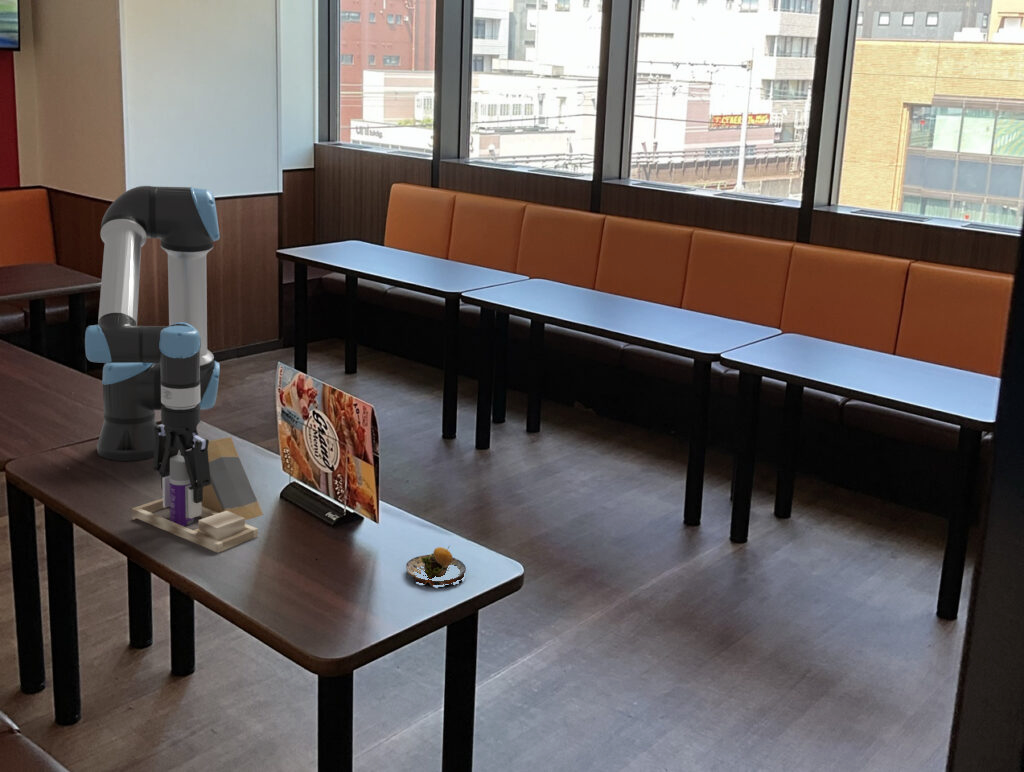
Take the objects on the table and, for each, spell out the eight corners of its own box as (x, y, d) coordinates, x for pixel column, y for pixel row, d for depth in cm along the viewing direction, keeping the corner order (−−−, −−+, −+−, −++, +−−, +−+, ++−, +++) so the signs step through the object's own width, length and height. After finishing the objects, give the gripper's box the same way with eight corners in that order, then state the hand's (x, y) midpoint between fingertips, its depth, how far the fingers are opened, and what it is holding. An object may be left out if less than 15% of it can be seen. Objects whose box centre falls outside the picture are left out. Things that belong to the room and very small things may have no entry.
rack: (132, 521, 223) (131, 508, 222) (173, 507, 231) (172, 494, 230) (218, 558, 209) (217, 544, 208) (258, 542, 218) (258, 528, 217)
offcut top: (198, 529, 213) (198, 520, 213) (226, 519, 219) (226, 510, 218) (216, 537, 210) (216, 528, 210) (244, 527, 216) (244, 518, 215)
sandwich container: (232, 532, 222) (232, 464, 217) (195, 508, 232) (194, 442, 228) (268, 523, 228) (269, 456, 223) (231, 500, 238) (231, 435, 234)
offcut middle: (199, 538, 214) (199, 529, 213) (226, 528, 220) (226, 519, 219) (217, 546, 211) (217, 537, 210) (245, 536, 217) (245, 527, 216)
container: (165, 528, 221) (164, 459, 217) (180, 520, 225) (179, 453, 221) (184, 533, 219) (183, 464, 215) (198, 525, 224) (198, 457, 219)
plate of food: (434, 556, 218) (436, 522, 216) (478, 576, 211) (481, 541, 209) (391, 574, 209) (393, 539, 207) (436, 595, 202) (438, 559, 200)
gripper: (132, 397, 217) (135, 502, 223) (199, 419, 207) (200, 530, 213) (162, 389, 223) (164, 493, 229) (230, 411, 213) (230, 519, 219)
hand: (182, 510), depth 221 cm, fingers open, 7 cm apart
